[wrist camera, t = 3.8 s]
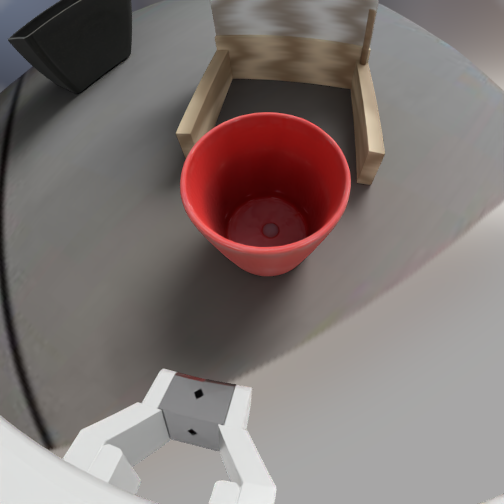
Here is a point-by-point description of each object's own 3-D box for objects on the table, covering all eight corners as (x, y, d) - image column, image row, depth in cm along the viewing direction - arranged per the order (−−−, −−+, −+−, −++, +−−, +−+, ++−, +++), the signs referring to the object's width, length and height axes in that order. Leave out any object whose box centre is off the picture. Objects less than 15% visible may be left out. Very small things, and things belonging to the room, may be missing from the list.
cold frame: (188, 165, 30) (131, 13, 13) (224, 72, 36) (205, -39, 19) (370, 185, 28) (432, 28, 11) (360, 85, 34) (381, -29, 17)
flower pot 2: (346, 213, 27) (373, 145, 18) (292, 318, 24) (304, 288, 15) (248, 169, 29) (239, 95, 20) (186, 258, 26) (145, 203, 17)
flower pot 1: (40, 92, 42) (6, 38, 27) (107, 41, 47) (84, -15, 31) (70, 112, 37) (25, 37, 21) (154, 48, 42) (130, -26, 26)
